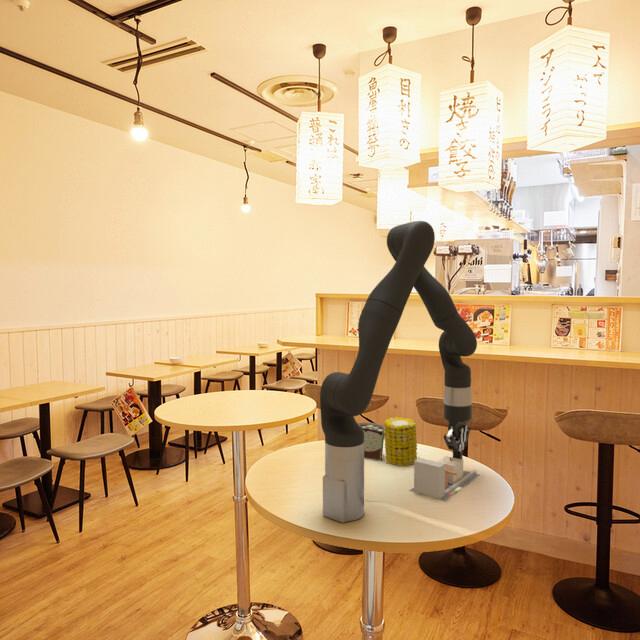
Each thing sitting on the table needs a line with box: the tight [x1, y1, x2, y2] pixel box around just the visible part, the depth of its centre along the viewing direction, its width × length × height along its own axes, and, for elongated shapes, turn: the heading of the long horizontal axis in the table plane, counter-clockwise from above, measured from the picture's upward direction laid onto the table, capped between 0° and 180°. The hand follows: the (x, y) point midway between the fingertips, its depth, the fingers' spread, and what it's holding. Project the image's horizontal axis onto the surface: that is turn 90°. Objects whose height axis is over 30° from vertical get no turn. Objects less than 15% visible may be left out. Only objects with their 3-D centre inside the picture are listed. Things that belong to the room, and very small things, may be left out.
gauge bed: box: [408, 457, 481, 502], centre depth 130 cm, size 22×10×10 cm, turn 140°
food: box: [383, 416, 418, 467], centre depth 147 cm, size 15×12×10 cm
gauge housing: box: [436, 455, 464, 484], centre depth 131 cm, size 9×5×5 cm, turn 140°
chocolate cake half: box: [357, 422, 385, 462], centre depth 157 cm, size 12×6×10 cm, turn 58°
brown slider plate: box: [445, 468, 457, 489], centre depth 126 cm, size 1×7×5 cm, turn 50°
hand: (457, 463), depth 136 cm, fingers closed
